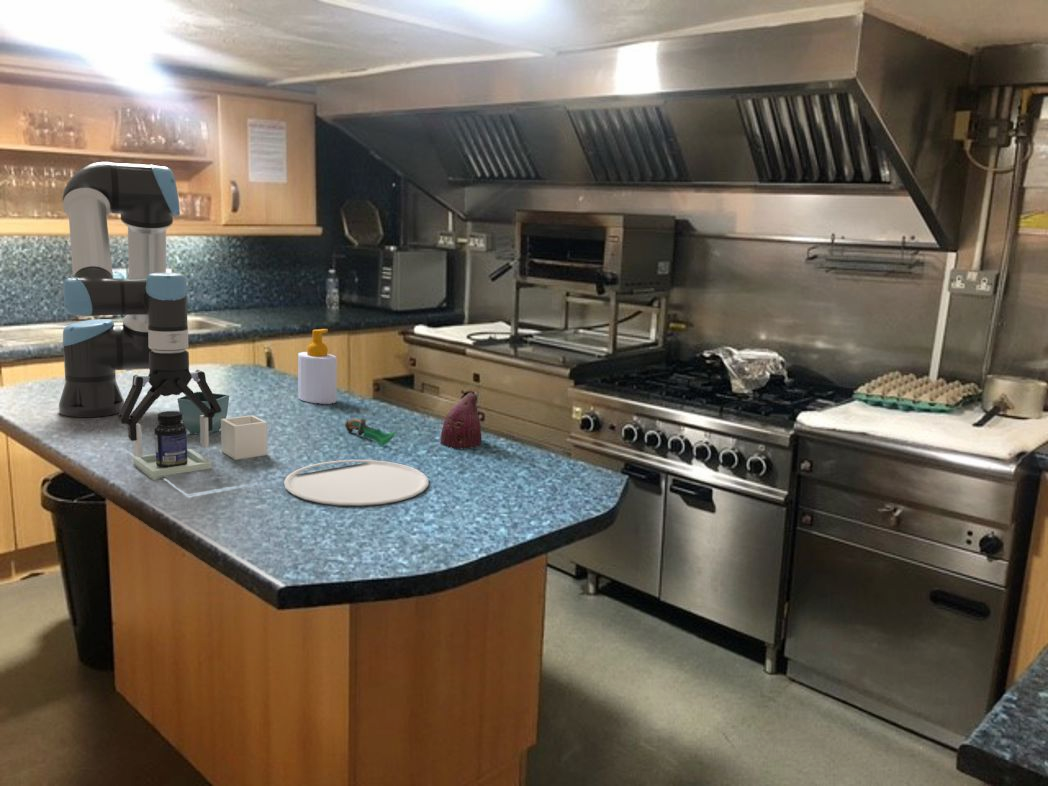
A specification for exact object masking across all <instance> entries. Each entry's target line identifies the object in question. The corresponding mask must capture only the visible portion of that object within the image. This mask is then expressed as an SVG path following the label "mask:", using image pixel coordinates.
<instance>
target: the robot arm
mask: <svg viewBox="0 0 1048 786" xmlns="http://www.w3.org/2000/svg"><path fill="white" fill-rule="evenodd" d="M62 193H63V194H62V208H63V211H64V213H65V215H66V216H67V217H68V222H69V236H70V237H69V239H70V240H69V241H70V252H71V268H72V277H67V278H65V279H63V280H62V283H63V286H62V288H63V303H64V305H63V306H64V311H65V313H67V314H68V315H71V316H75V315H76V316H86V317H91V316H124V317H123V319H122V320H123V321H122V324H117V325H116V324H115V322H114V321H113V319H110V318H109V319H108V318H105V319H104V318H103V319H99V318H98V319H89V320H88V319H87V320H81V321H77V322H74V323H70V324H67V325H66V326H65V327H64V329H63V331H62V343H61V344H62V347H63V361H64V363H63V365H64V367H63V368H64V381H65V383H64V386H63V389H62V393H61V395H60V399H59V403H58V412H59V414H60V415H63V416H65V417H71V418H72V417H73V418H98V417H107V416H112V415H113V416H114V415H117V414H118V415H117V418H116V419H117V420H116V421H118V422H120V423H121V424H123V425H127V437H128V440H130V441H131V442H133V455H135V456H138V457H142V455H143V448H142V447H143V442H142V424H140V423H139V422H140V420H141V419H142V418H143V417H144V415H145V414H146V413H147V412H148V410H149V409H150V408H151V407H152V405H153V404H154V403H155V401H156V400H158V399H159V398H160V397H161V396H163V397H168V396H172V395H173V396H178V395H180V394H184V396H187V397H188V398H189V399H190V400H191V401H192V402H193V403H194V404H195V405H196V406H197V407H198V408H199V409H200V410H201V411H202V412H203V413H204V415H200V434H199V435H200V436H199V438H200V439H199V440H200V445H201V446H202V447H203V448H210V443H209V441H210V440H209V439H210V438H209V437H210V436H209V435H210V434H209V432H208V431H212V429H213V426H212V425H213V424H212V417H214V415H215V414H216V413H220V412H221V408H220V406H219V404H218V402H217V400H216V399H215V397H214V395H213V393H214V392H213V391H212V389H211V388H210V386H209V384H208V383H207V377H206V373H205V372H204V371H203V370H200V369H196V370H195V371H193V372H190V353H189V351H188V350H187V349H188V348H189V327H188V326H189V325H188V294H189V291H188V290H189V289H188V287H187V286H188V285H187V278H186V276H185V275H184V274H182V273H176V272H167V229H169V228H170V227H171V226H172V225H173V224H174V223H173V221H174V218H176V217H179V216H180V213H181V212H180V210H181V208H180V200H179V199H180V198H179V194H178V188H177V182H176V178H175V174H174V172H173V170H172V169H171V168H169V167H167V166H163V165H162V166H160V165H154V164H141V163H122V162H121V163H118V162H117V163H116V162H110V161H100V162H94V163H90V164H88V165H86V166H85V167H83V168H81V169H80V170H78V171H77V172H75V174H73V176H72V177H70V179H69V180H68V182H67V183H66V185H65V187H64V189H63V192H62ZM110 214H118V215H119V214H120V221H121V222H122V223H123V224H124V225H125V226H126V227H127V243H128V244H127V246H128V247H127V248H128V250H127V252H128V254H127V255H128V257H127V258H128V278H119V277H117V278H115V277H114V274H113V263H112V255H111V246H110V245H111V244H110V238H109V228H108V218H107V217H109V215H110ZM130 370H149V373H148V376H146V375H145V376H142V375H138V374H134V375H133V376H132V385H131V388H130V390H129V392H128V394H127V396H126V398H125V400H124V398H123V395H122V392H121V390H120V386H119V385H118V382H117V378H116V377H117V376H116V371H130ZM191 380H192V381H194V382H196V383H197V385H198V387H199V390H200V392H202V393H203V395H204V396H205V398H206V400H207V402H208V403H209V405H210V407H211V408H208V407H207V406H206V405H205V404H204V403H203V402H202V401H201V400H200V399H199V398H198V397H197V396H196V395H195V394H194V393H195V392H194V390H192V389H191V388H190V387H189V386H188V385H189V384H190V382H191ZM147 383H149V385H150V386H151V387H150V388H149V389H148V390H147V392H146V394H145V396H144V397H143V398H142V400H141V401H140V402H139V404H138V405H137V406H136V404H137V401H138V399H139V397H140V395H141V393H142V391H143V388H144V387H145V386H146V384H147ZM135 406H136V407H135Z"/></svg>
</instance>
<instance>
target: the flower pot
mask: <svg viewBox="0 0 1048 786" xmlns="http://www.w3.org/2000/svg"><path fill="white" fill-rule="evenodd" d="M193 393H194V394H195V395H196V396H197V397H198V398H199V399H200V400H201V401H202V402H203V403H204V404H205V405H206V406H207V407H208V408H211V407H210V405H209V403H208V402H207V400H206V398H205V396H204V395H203V393H202V391H195V392H193ZM212 393H213V395H214V397H215V399H216V400H217V402H218V404H219V406H220V408H221V412H220V413H216V414H215V415H214V417H212V424H213V425H212V426H213V429H212V431H208V432H209V435H210V434H212V433H216V432H217V433H218V432H219V431H221V419H226V418H227V417H228V410H229V401H230V394H224V393H223V394H222V393H217V392H216V393H214V392H212ZM177 404H178V405H177V406H178V409H179V411H178V412H181V413H182V420H181V423H183V424H184V425H185V426H186V431H187V432H188V433H189V434H192V435H200V415H204V413H203V412H202V411H201V410H200V409H199V408H198V407H197V406H196V405H195V404H194V403H193V402H192V401H191V400H190V399H189V398H188V397H187V396H186V395H183V396H182V397H181V396H180V397H178V398H177Z"/></svg>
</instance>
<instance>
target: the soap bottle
mask: <svg viewBox="0 0 1048 786" xmlns="http://www.w3.org/2000/svg"><path fill="white" fill-rule="evenodd" d="M328 332H329V329H328V328H321V329H320V328H319V329H313V330H312V342H311V343H310V344H308V345H307V347H306V351H301V352H298V355H297V360H298V361H297V390H298V391H297V396H298V397H297V398H298V399H299V400H301V401H303V402H306V403H311V404H317V403H319V404H320V405H330V404H331V405H332V403H333V404H335V403H337V400H338V399H337V398H338V395H337V394H338V392H337V391H338V388H337V387H338V386H337V385H338V358H337V356H335V355H334V354H330V353H329V352H328V347H327V344H325V343H324V342H323V334H326V333H328ZM319 404H318V405H319Z"/></svg>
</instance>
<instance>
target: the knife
mask: <svg viewBox="0 0 1048 786" xmlns="http://www.w3.org/2000/svg"><path fill="white" fill-rule="evenodd" d="M344 426H345V429H346V431H347V432H348V433H352V432H353V431H354V430H356V431H357V435H358V436H362V439H363V438H364V439H372V440H374V441H375V442H377V443H378V444H379V445H380V446H385V445H387V444H388V443H389V442H390V441H391V440H392V439H393V437H394V436H395V435H396V433H397V431H394V432H389V433H384V432H382V431H381V429H380V428H378V429H377V428H373V427H370V426H368V425H367V423H366V419H365V418H361V419H357V418H356V419H355V418H353V419H351V420H347V421H345V423H344Z"/></svg>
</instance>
